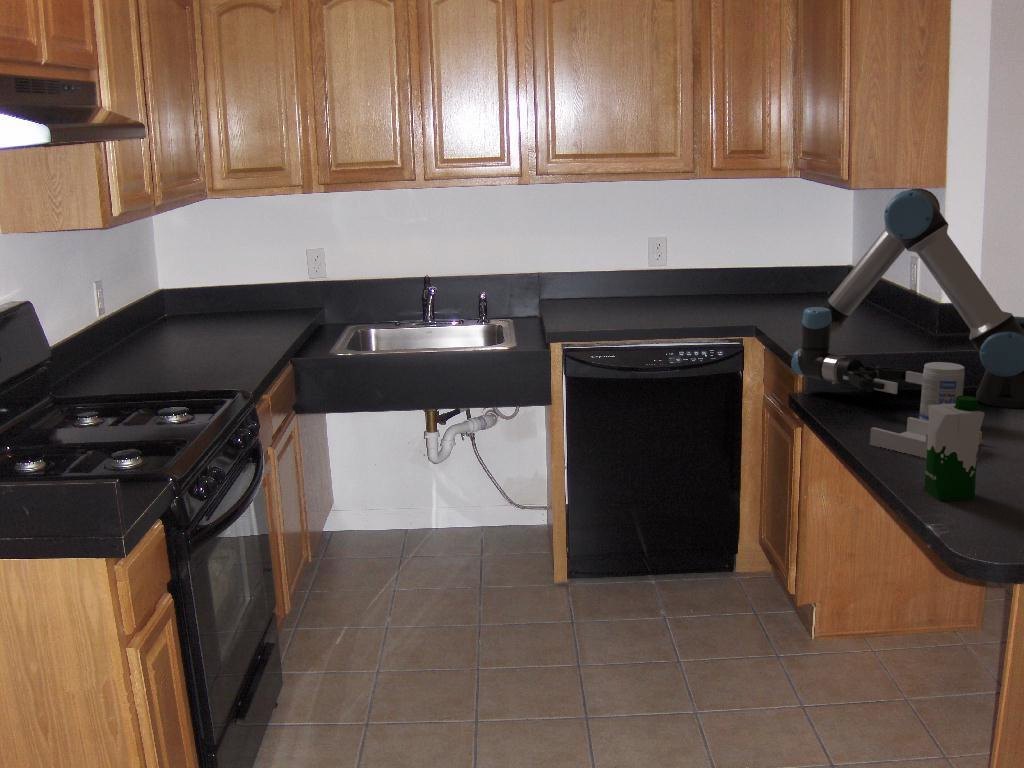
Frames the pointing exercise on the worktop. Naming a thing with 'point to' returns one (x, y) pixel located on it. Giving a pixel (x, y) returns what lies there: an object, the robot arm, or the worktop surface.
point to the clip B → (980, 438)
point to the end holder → (904, 438)
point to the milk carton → (953, 449)
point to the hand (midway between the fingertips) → (913, 384)
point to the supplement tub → (940, 385)
